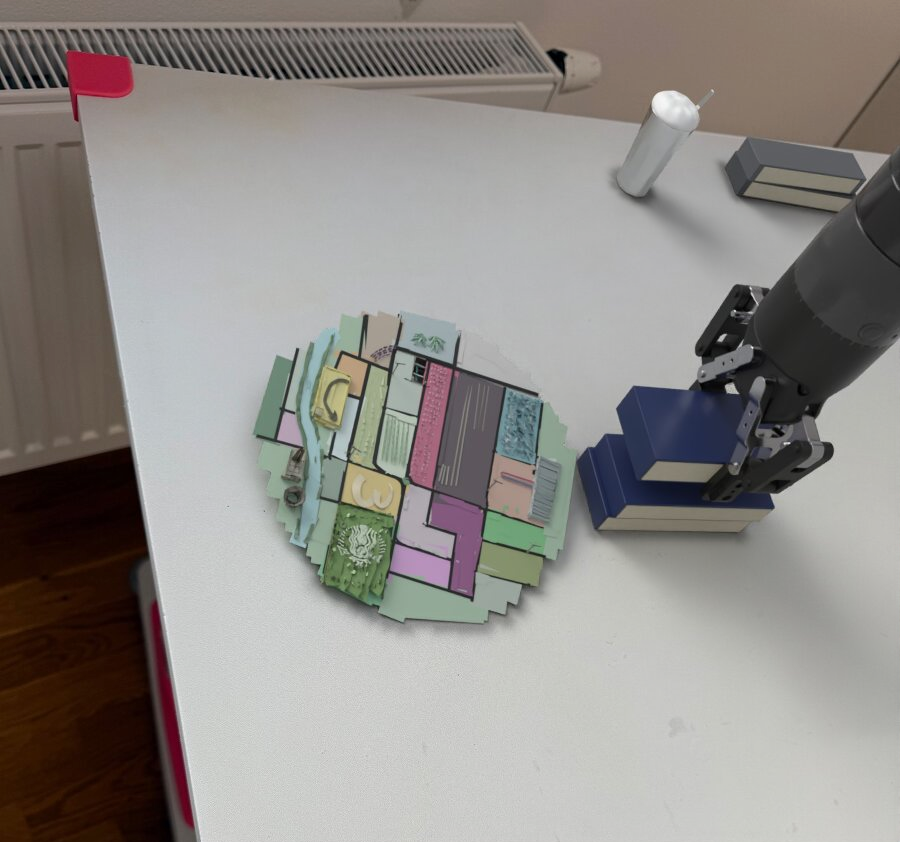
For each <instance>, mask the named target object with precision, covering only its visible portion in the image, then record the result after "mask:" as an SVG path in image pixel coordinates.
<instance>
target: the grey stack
mask: <svg viewBox="0 0 900 842" xmlns="http://www.w3.org/2000/svg"><path fill="white" fill-rule="evenodd" d="M737 149H738V150H735V151H734V152H733V154H732V155H731V157H730V159H728V161H727V163H725V166H724V168H725V170H726V173H727V176H728V178H729V181H730V183H731V186H732V188H733V190H734V193H735V195H736V196H738V197H739V196H741V197H745V198H751V199H757V200H764V201H769V202H775V203H780V204H786V205H792V206H798V207H803V208H810V209H815V210H821V211H828V212H833V213H838V212H839V211H840V210H841V209H842V208H843V207H845V206H846V205H847V204H848V203H849V202H850V201H851V200H852V199H853V198H854V197H855V196H856V195H857V193H858V191H859V190H860V188H861V187H862V186H863V185H864V184H865V183H866V181H867V177H866V175H865V174H864V171H863V170H862V167H861V166H860V164H859V163H858V160H857V158H856V157H855V155H854V153H852V152H848V151H846V152H845V151H841V150H835V149H828V148H822V147H815V146H809V145H803V144H797V143H791V142H785V141H778V140H771V139H765V138H760V137H759V138H758V137H752V136H746V138H745V139H744V141H743V142H742V143H741V145H740V146H739V148H737Z"/></svg>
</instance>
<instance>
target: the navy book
mask: <svg viewBox="0 0 900 842" xmlns="http://www.w3.org/2000/svg"><path fill="white" fill-rule="evenodd" d="M615 410H616V414H617V417H618V420H619V423H620V424H619V425H620V427H621V432H622V434H623V435H624V438H625V441H626V445H627V448H628V452H629V455H630V458H631V462H632V465H633V469H634V472H635V475H636V479H637V480H638V481H663V482H688V483H706V482H707V481H708V480H709V479H710V478H711V477H712V476H713V475H714V474H715V473H716V472H717V471H718V470H719V469H720V468H721V467H722V466H723V465H724V464H725V463H726V462H730V459H731V457H732V455H733V452H734V450H735V448H736V445H737V443H738V438H737V437H736V435H735V433H736V430H737V428H738V426H739V423H740V421H741V419H742V416H743V414H744V410H743V407H742V400H741V396H740V394H739V393H732V392H731V393H730V392H727V393H719V392H707V391H695V390H688V389H684V388H683V389H682V388H670V387H669V388H668V387H659V386H658V387H657V386H644V385H632V387H631V388H630V389H629V391H628V392H627V393H626V395H625V396H624V397H623V398H622V400H620V403H619V404H618V405H617V406H616V407H615ZM774 426H775V425H770V424H759V426H758V428H757V429H771V428H773V427H774ZM759 449H760V447H757V448H755V449H754V450H753V453H752V455H751V457H750V458H756V456H757V453H758V451H759ZM780 450H781V449H780ZM780 450H779V451H780ZM779 451H778V452H779ZM792 486H793V485H791V486H790V487H792Z"/></svg>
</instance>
